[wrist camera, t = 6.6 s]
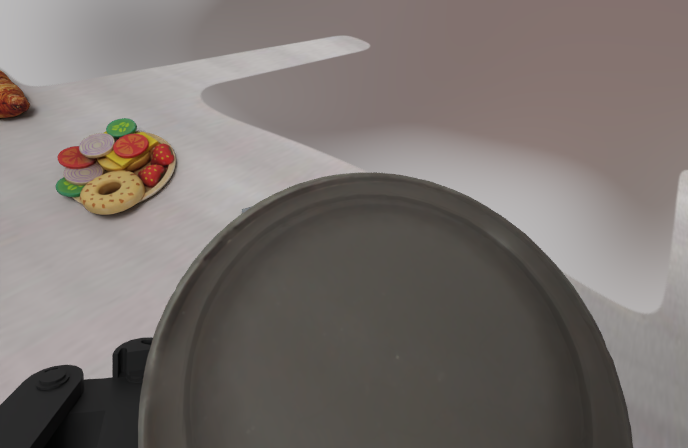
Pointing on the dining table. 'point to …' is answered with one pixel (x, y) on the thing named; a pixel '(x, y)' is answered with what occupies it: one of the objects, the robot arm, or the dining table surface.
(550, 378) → the coffee can
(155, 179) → the toy food set
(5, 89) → the croissant
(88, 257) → the dining table surface
